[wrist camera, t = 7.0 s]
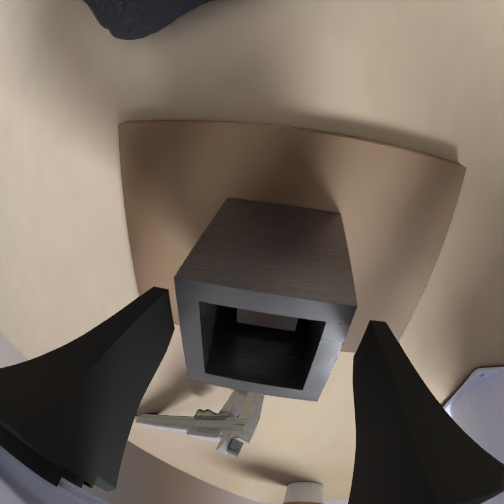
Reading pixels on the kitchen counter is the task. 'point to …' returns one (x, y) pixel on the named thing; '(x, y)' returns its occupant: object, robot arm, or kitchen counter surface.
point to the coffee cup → (304, 493)
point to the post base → (294, 194)
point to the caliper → (215, 422)
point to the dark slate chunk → (139, 15)
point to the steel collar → (266, 298)
